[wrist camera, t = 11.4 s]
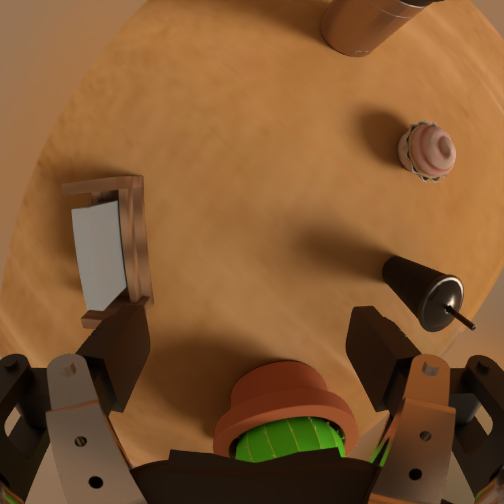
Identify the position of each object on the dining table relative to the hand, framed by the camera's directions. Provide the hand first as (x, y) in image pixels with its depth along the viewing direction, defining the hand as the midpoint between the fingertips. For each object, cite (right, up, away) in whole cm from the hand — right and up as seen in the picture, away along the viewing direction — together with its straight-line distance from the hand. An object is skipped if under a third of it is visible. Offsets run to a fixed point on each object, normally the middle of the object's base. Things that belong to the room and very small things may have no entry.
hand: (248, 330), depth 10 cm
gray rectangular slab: (-19, +4, +27) cm, 33 cm away
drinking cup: (+23, 0, +31) cm, 39 cm away
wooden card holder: (-19, +4, +28) cm, 34 cm away
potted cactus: (+5, -23, +36) cm, 44 cm away
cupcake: (+25, +18, +26) cm, 40 cm away
